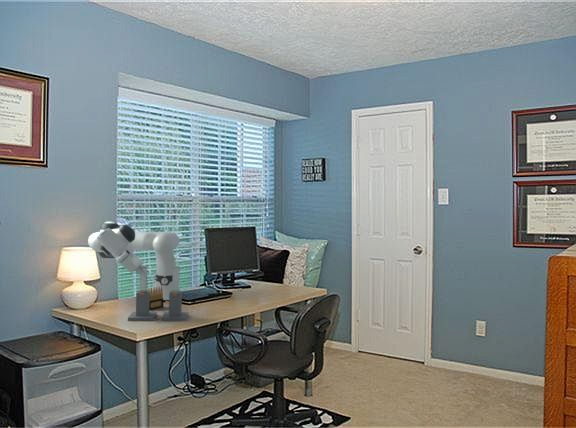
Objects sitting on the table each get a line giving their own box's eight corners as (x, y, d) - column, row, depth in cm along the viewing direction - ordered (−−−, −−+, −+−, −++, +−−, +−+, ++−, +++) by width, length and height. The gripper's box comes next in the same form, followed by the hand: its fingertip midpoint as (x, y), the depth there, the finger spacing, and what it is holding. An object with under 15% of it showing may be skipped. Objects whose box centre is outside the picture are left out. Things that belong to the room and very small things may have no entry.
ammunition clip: (148, 310, 267) (148, 288, 267) (145, 310, 268) (146, 287, 268) (163, 307, 276) (164, 285, 276) (161, 306, 277) (161, 285, 277)
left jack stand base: (132, 314, 257) (133, 289, 257) (156, 314, 259) (157, 289, 258) (127, 320, 246) (128, 293, 245) (152, 320, 247) (153, 294, 246)
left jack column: (140, 299, 253) (141, 266, 253) (146, 299, 253) (147, 266, 253) (139, 300, 250) (139, 267, 249) (145, 301, 250) (146, 267, 250)
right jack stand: (164, 314, 259) (165, 264, 258) (188, 314, 261) (189, 265, 260) (161, 320, 247) (162, 268, 246) (186, 320, 249) (187, 268, 248)
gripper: (124, 256, 260) (143, 275, 262) (115, 261, 240) (136, 282, 241) (133, 248, 260) (152, 267, 262) (125, 252, 240) (145, 273, 242)
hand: (144, 274), depth 251 cm, fingers open, 3 cm apart
